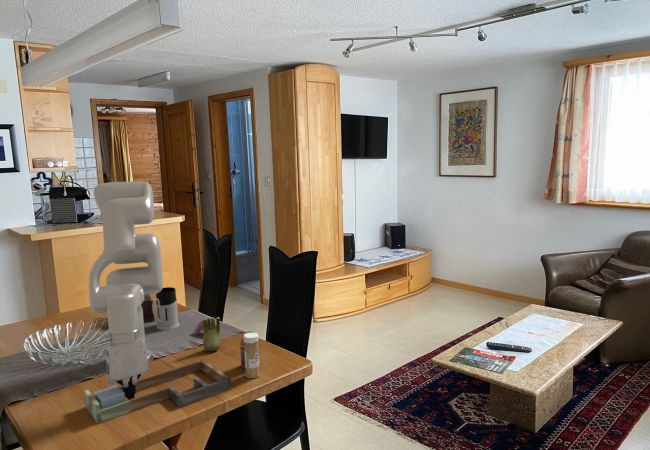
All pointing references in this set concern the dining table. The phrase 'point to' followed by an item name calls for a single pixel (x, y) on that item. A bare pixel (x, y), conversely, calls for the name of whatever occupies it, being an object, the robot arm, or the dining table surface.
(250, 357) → the sprinkles bottle
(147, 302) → the brown storage container
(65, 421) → the dining table surface
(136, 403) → the box
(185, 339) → the dining table surface
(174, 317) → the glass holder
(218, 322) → the fennel bulb
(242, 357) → the supplement bottle
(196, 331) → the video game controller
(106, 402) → the block
